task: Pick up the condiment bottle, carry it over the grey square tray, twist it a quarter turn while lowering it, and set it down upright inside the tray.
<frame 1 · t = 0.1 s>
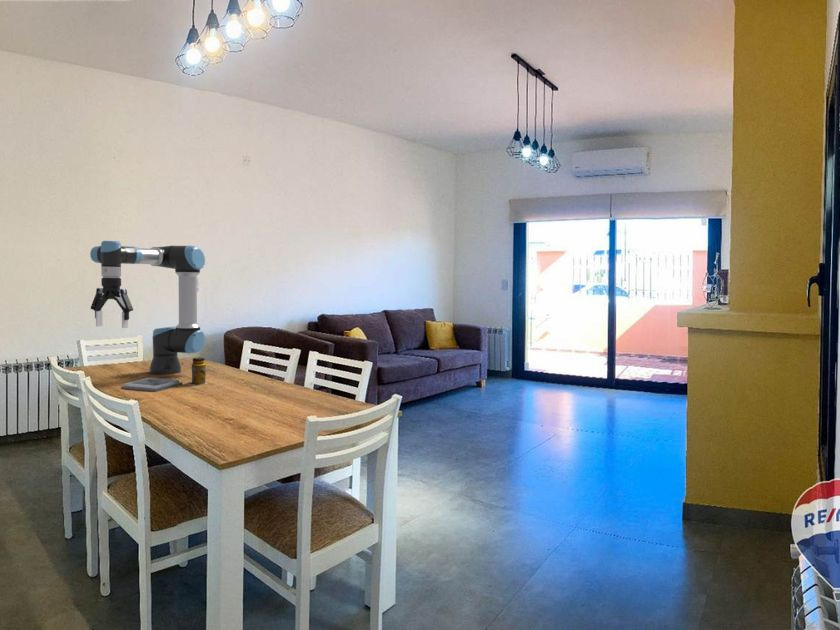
hand: (112, 327, 261), 28 cm above the table, fingers open, 13 cm apart
grey square tray: (152, 386, 275), on the table
condiment: (196, 384, 285), on the table
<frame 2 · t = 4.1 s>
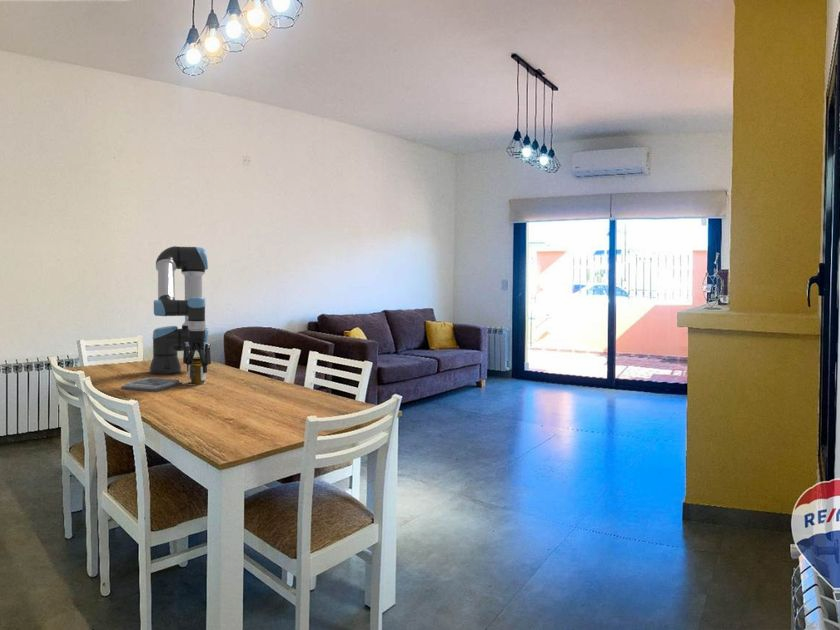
hand: (197, 379, 284), 2 cm above the table, fingers closed on condiment, 6 cm apart
condiment: (196, 383, 285), on the table, touching gripper
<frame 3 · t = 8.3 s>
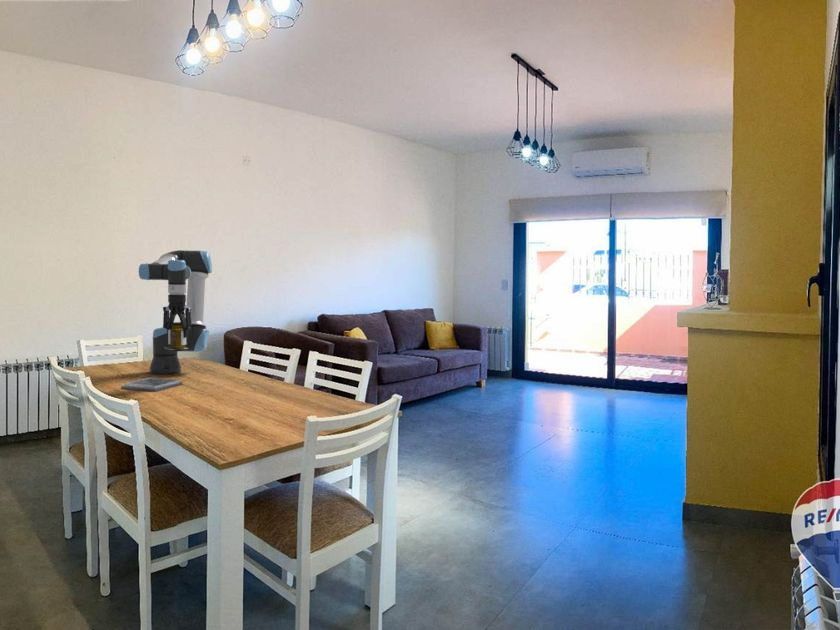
hand: (177, 344, 279), 19 cm above the table, fingers closed on condiment, 6 cm apart
condiment: (176, 349, 279), point 17 cm above the table, touching gripper
when the fingers open (4 cm above the table, at t = 12.4 s): condiment drops 1 cm, resting on grey square tray.
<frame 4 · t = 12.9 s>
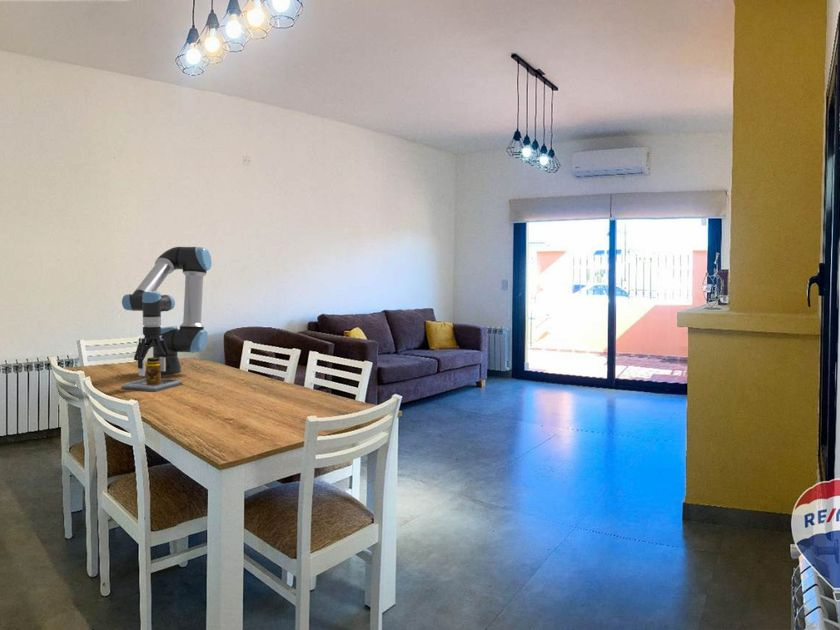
hand: (152, 373, 275), 6 cm above the table, fingers open, 12 cm apart
condiment: (153, 384, 276), point 1 cm above the table, touching grey square tray
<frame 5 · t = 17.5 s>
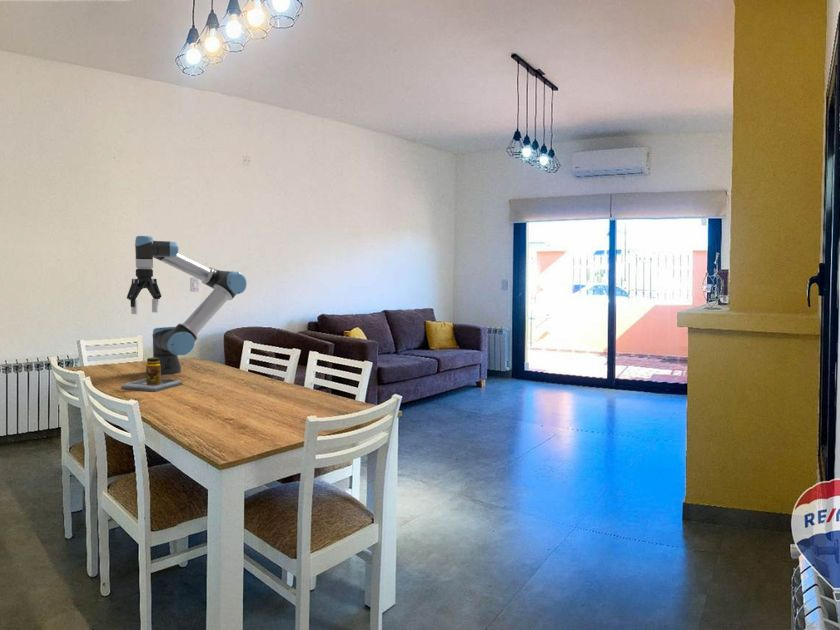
hand: (144, 313, 291), 32 cm above the table, fingers open, 13 cm apart
nothing on the table moved.
at the end: condiment inside the target area on the grey square tray (0.6 cm from its centre), point 0.8 cm above the grey square tray's base; condiment tilted 0°; the gripper is holding nothing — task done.
